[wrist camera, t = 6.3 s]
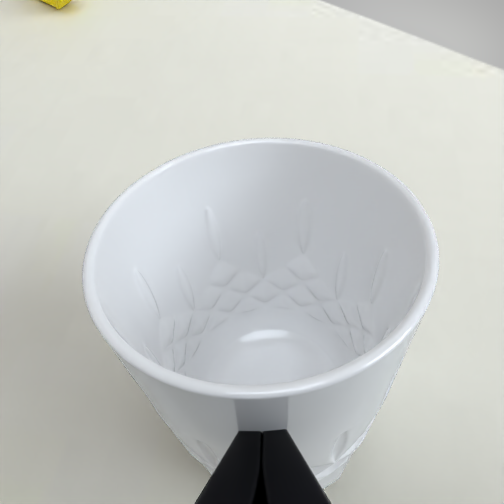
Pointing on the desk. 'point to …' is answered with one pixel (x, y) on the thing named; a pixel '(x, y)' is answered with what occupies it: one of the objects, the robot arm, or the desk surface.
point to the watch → (57, 3)
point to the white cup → (264, 293)
